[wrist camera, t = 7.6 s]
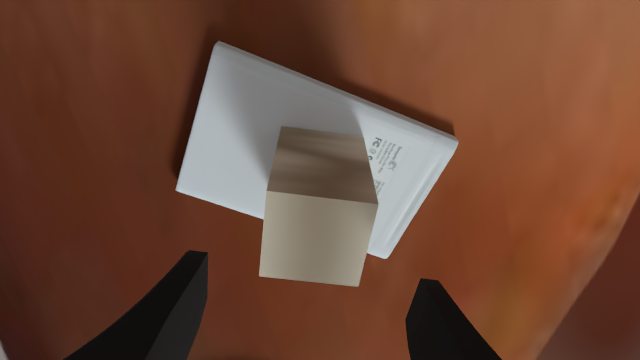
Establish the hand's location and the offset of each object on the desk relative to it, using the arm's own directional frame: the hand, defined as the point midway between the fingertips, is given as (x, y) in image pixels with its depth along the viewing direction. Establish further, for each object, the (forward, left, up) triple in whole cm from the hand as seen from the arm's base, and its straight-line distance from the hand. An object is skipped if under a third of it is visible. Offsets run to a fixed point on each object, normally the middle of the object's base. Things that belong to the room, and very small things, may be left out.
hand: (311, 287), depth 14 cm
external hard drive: (0, 0, -10) cm, 10 cm away
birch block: (0, 0, -8) cm, 8 cm away
